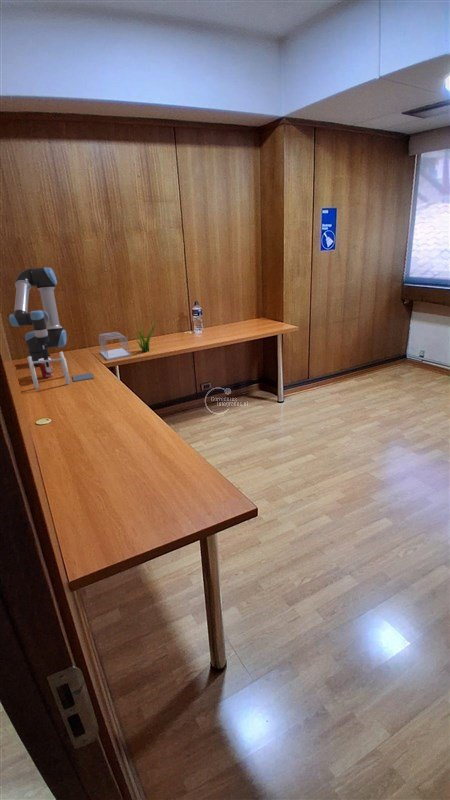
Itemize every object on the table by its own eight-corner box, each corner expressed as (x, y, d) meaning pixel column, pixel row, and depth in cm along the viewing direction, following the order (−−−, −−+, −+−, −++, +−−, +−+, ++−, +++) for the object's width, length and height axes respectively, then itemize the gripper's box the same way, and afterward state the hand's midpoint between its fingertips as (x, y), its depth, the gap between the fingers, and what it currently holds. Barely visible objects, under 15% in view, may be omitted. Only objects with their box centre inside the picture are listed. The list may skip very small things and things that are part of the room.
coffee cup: (50, 383, 251) (45, 360, 245) (39, 383, 253) (34, 360, 247) (58, 379, 258) (54, 357, 253) (48, 379, 260) (43, 357, 255)
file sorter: (100, 354, 305) (96, 334, 299) (122, 350, 312) (119, 330, 306) (107, 361, 284) (103, 339, 278) (131, 357, 291) (128, 335, 286)
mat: (72, 376, 251) (72, 375, 251) (92, 373, 255) (92, 372, 255) (73, 381, 241) (73, 380, 241) (94, 378, 245) (93, 377, 245)
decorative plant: (155, 320, 285) (135, 315, 282) (148, 355, 302) (129, 350, 299) (158, 310, 300) (139, 305, 297) (151, 344, 316) (132, 339, 313)
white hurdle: (33, 381, 247) (27, 356, 242) (69, 375, 255) (64, 351, 249) (31, 390, 230) (25, 364, 224) (70, 384, 237) (65, 358, 231)
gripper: (35, 333, 255) (43, 365, 263) (34, 340, 233) (42, 375, 241) (48, 332, 258) (55, 363, 265) (48, 338, 236) (55, 373, 244)
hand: (49, 369), depth 253 cm, fingers open, 13 cm apart
